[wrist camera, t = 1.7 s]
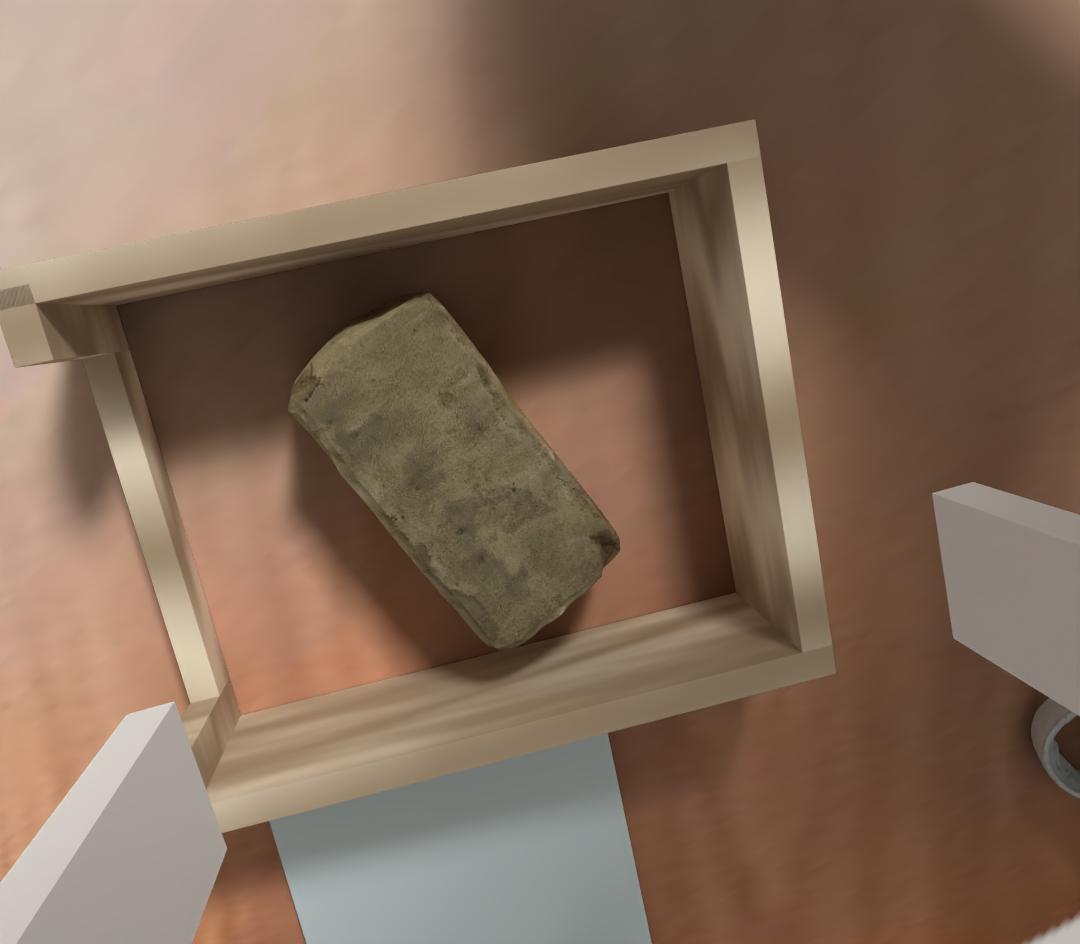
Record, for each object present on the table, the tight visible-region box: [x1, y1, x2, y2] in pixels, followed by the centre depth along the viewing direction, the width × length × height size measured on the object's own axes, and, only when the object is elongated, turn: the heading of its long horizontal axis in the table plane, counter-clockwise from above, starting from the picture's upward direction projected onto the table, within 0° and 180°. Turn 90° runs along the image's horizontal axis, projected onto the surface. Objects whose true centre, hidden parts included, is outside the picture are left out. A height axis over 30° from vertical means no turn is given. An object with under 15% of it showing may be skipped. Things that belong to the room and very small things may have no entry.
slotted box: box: [0, 119, 837, 833], centre depth 28 cm, size 17×21×6 cm
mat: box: [269, 733, 652, 944], centre depth 33 cm, size 13×13×1 cm
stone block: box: [287, 292, 620, 650], centre depth 28 cm, size 6×12×5 cm, turn 38°
